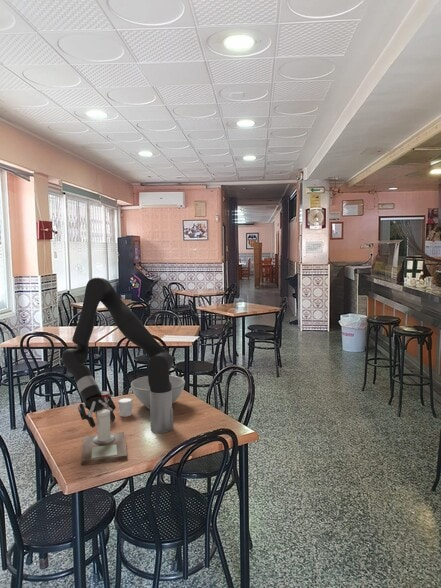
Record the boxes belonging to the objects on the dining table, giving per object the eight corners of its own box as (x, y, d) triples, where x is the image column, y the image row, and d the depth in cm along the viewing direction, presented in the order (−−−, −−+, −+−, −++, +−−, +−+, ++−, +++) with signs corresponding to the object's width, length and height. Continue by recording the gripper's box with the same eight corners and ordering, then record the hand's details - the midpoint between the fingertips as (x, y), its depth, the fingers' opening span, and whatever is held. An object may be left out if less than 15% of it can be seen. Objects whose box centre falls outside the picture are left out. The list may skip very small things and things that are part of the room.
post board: (124, 435, 177) (123, 414, 177) (127, 459, 156) (126, 435, 156) (83, 440, 173) (83, 418, 172) (81, 465, 152) (80, 440, 151)
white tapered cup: (120, 418, 197) (119, 403, 196) (116, 413, 203) (116, 399, 202) (134, 415, 200) (134, 401, 199) (130, 410, 206) (130, 396, 205)
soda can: (102, 422, 192) (101, 396, 191) (92, 418, 196) (91, 393, 195) (114, 417, 198) (114, 392, 196) (105, 414, 202) (104, 389, 201)
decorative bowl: (169, 393, 232) (169, 372, 231) (195, 407, 210) (194, 383, 209) (123, 403, 217) (122, 380, 216) (144, 419, 195) (144, 393, 194)
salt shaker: (110, 435, 173) (109, 408, 172) (111, 440, 168) (110, 413, 167) (97, 436, 172) (96, 410, 171) (97, 441, 167) (96, 414, 166)
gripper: (75, 388, 169) (90, 424, 162) (107, 380, 179) (122, 414, 172) (69, 398, 173) (84, 433, 166) (101, 390, 183) (116, 423, 176)
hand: (103, 423), depth 169 cm, fingers open, 8 cm apart
